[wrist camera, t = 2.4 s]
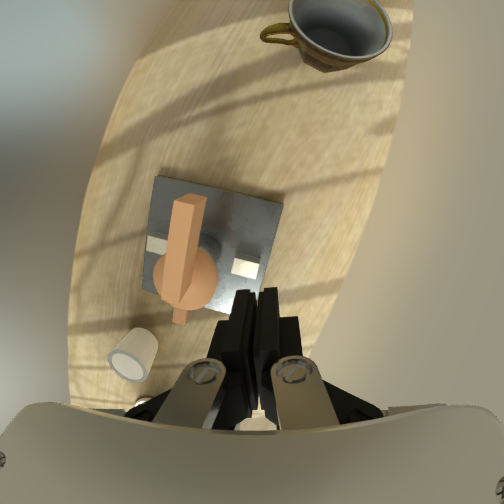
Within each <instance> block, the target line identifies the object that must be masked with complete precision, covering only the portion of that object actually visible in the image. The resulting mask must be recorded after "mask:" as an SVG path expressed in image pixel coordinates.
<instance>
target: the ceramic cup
mask: <svg viewBox="0 0 504 504" xmlns="http://www.w3.org/2000/svg"><path fill="white" fill-rule="evenodd" d="M288 11H289V17H290V23H278V24H274V25H271V26H269V27H267V28H265V29H264V30H263V31H262V32H261V34H260V39H261V40H262V41H263V42H266V43H279V44H285V45H292V46H294V47H296V48H298V50H299V52H300V54H301V57H302V59H303V61H304V63H306V64H308V65H310V66H312V67H314V68H315V69H317V70H319V71H321V72H323V73H327V72H333V71H340V70H344V69H347V68H349V67H351V66H354V65H356V64H359V63H363V62H366V61H368V60H371V59H373V58H375V57H377V56H378V55H380V54H381V53H383V52H384V51H385V50H386V49H387V48H388V46H389V44H390V42H391V39H392V33H393V32H392V25H391V21H390V19H389V17H388V15H387V13H386V11H385V10H384V9H383V7H382V6H381V5H380V4H379V3H378V2H377V1H376V0H290V2H289V8H288ZM274 34H291V35H292V36H294V37H295V38H294V39H293V40H284V39H279V38H266V37H267V36H269V35H274Z"/></svg>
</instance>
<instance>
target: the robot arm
mask: <svg viewBox="0 0 504 504" xmlns="http://www.w3.org/2000/svg"><path fill="white" fill-rule="evenodd" d="M258 397H260V404H261V409H262V410H265V417H266V418H267V419H269V420H270V421H271V422H273V423H274V424H275V425H276V430H273V431H272V430H271V431H239V430H240V422H241V421H243V420H244V419H246V418H252V410H257V408H258ZM0 504H504V425H503V424H502V422H501V421H500V420H499V419H498V418H497V416H496V415H495V414H493V413H492V412H491V411H490V410H488V409H486V408H484V407H481V406H476V405H446V404H439V403H438V404H428V405H416V406H400V407H388V409H387V410H380V409H379V408H377V407H376V406H374V405H372V404H370V403H368V402H366V401H364V400H362V399H360V398H358V397H356V396H354V395H352V394H350V393H348V392H346V391H344V390H341V389H339V388H338V387H336V386H334V385H332V384H330V383H328V382H326V381H324V380H322V378H321V375H320V372H319V370H318V368H317V365H316V364H315V363H314V361H312V360H311V359H309V358H307V357H304V356H303V354H302V345H301V337H300V329H299V321H298V316H294V317H280V315H279V302H278V289H277V287H271V288H264V291H263V292H259V297H258V307H257V300H256V293H255V292H251V291H250V289H241V290H236V294H235V297H234V301H233V305H232V309H231V313H230V316H229V320H220V321H218V323H217V326H216V329H215V332H214V335H213V338H212V342H211V345H210V348H209V351H208V354H207V357H206V358H204V359H198V360H196V361H193V362H191V363H190V364H189V365H187V366H186V367H185V369H184V370H183V372H182V373H181V375H180V376H179V378H178V380H177V381H176V383H175V385H174V386H173V388H172V389H170V390H168V391H166V392H164V393H162V394H160V395H158V396H156V397H154V398H141V399H139V400H138V401H137V402H136V403H135V406H134V407H133V408H132V409H130V410H129V411H128V412H125V410H124V409H90V408H83V407H79V406H75V405H69V404H64V403H55V402H44V403H43V402H42V403H34V404H30V405H28V406H26V407H24V408H23V409H22V410H21V411H20V412H19V413H18V414H17V415H16V416H15V417H14V419H13V420H12V421H11V422H10V423H9V425H8V426H7V427H6V429H5V430H4V432H3V433H2V434H1V436H0Z"/></svg>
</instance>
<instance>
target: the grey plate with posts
mask: <svg viewBox="0 0 504 504" xmlns="http://www.w3.org/2000/svg"><path fill="white" fill-rule="evenodd" d="M189 193H191V194H196V195H200V196H204V197H207V200H206V205H205V210H204V215H203V220H202V225H201V230H200V235H199V241H198V246H197V248H198V249H200V250H202V251H203V252H205V253H206V254H207V255H208V256H209V257H210V258H211V259H212V260H213V262H214V264H215V266H216V268H217V271H218V285H217V288H216V291H215V293H214V295H213V298H212V299H211V301H210V302H209V303H208V304H207V305H205V306H204V307H205V308H209V309H212V310H216V311H220V312H224V313H228V314H230V313H231V309H232V305H233V301H234V297H235V294H236V290H241V289H250V291H251V292H255V293H256V300H257V297H258V294H259V290H260V287H261V283H262V280H263V276H264V273H265V270H266V266H267V263H268V259H269V256H270V252H271V248H272V245H273V241H274V238H275V234H276V231H277V227H278V223H279V220H280V216H281V213H282V209H283V204H281V203H278V202H274V201H270V200H266V199H262V198H258V197H254V196H250V195H246V194H242V193H238V192H234V191H230V190H225V189H221V188H217V187H212V186H208V185H203V184H199V183H194V182H189V181H185V180H180V179H175V178H170V177H165V176H160V175H158V176H155V179H154V185H153V191H152V198H151V205H150V212H149V219H148V227H147V236H146V246H145V256H144V268H143V282H142V289H144V290H147V291H150V292H153V293H156V294H159V293H158V292H157V290H156V288H155V285H154V281H153V271H154V267H155V265H156V263H157V261H158V260H159V259H160V258H161V257H162V256H163V255H164V254H165V253H166V250H167V242H168V235H169V228H170V222H171V215H172V209H173V203H174V200H176V199H178V198H180V197H182V196H184V195H187V194H189Z"/></svg>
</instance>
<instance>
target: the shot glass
mask: <svg viewBox="0 0 504 504" xmlns="http://www.w3.org/2000/svg"><path fill="white" fill-rule="evenodd" d="M158 346H159V344H158V341H157V339H156V338H155V336H154V335H153V334H152V333H151V332H149V331H148V330H146V329H143V328H137V327H136V328H133V329H131V330H130V331H129V332H128V334H127V335H126V336H125V337H124V338H123V339H122V340H121V341H120V342H119V343H118V344H117V345H116V346H115V347H114V348H113V349H112V350H111V352H110V353H109V354H108V362H109V364H110V366H111V368H112V369H113V370H114V371H115V373H116V374H118V375H119V376H120V377H122V378H123V379H125V380H127V381H130V382H134V383H140V382H144V381H145V380H146V379H147V377H148V374H149V371H150V369H151V366H152V363H153V361H154V358H155V356H156V353H157V350H158Z"/></svg>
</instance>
